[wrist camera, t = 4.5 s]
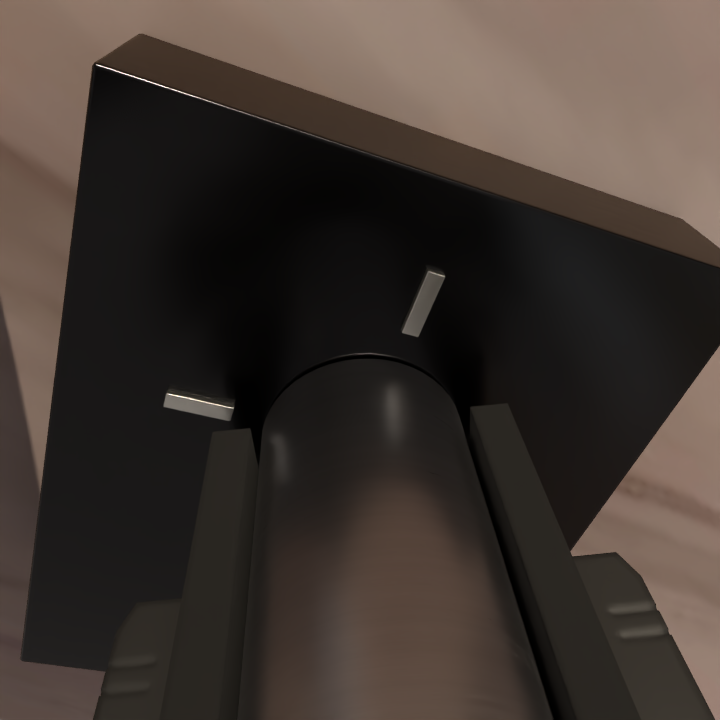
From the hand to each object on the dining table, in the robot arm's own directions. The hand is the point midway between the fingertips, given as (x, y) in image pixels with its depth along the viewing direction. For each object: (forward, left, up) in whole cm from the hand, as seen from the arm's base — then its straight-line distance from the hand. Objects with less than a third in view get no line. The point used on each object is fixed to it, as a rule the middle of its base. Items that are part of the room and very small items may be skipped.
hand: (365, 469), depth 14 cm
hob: (+2, 0, -4) cm, 5 cm away
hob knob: (0, 0, -1) cm, 1 cm away
